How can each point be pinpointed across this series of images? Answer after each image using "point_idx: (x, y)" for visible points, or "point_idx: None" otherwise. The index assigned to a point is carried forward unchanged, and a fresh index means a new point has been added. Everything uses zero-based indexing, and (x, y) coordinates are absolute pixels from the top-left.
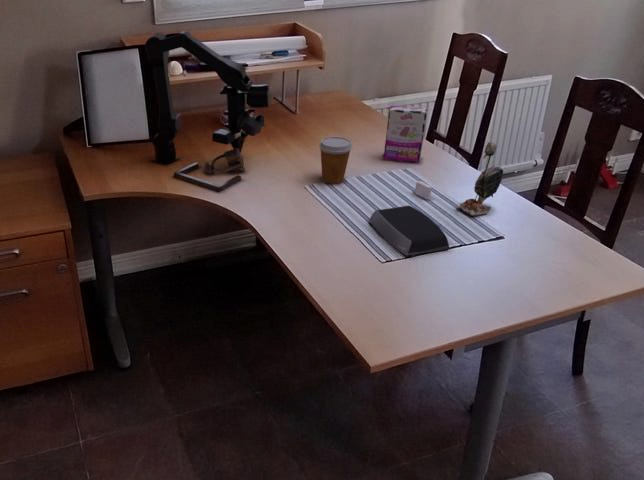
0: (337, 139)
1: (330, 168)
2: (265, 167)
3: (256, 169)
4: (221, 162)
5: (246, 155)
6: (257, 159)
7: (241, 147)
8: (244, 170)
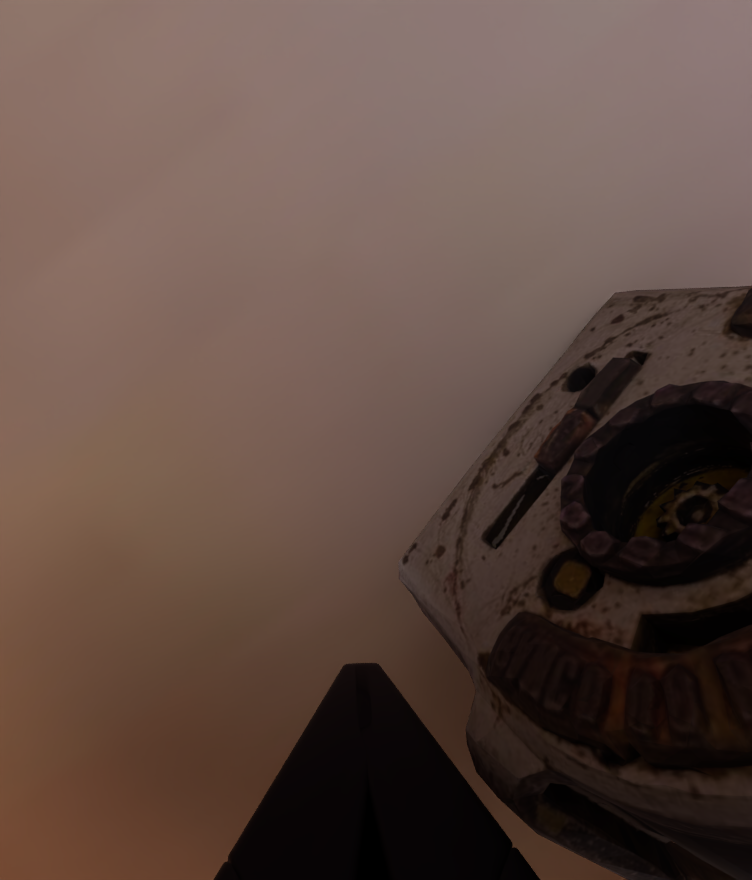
0: None
1: None
2: (199, 103)
3: (378, 195)
4: None
5: (7, 686)
6: (8, 453)
7: (323, 793)
8: (628, 292)
